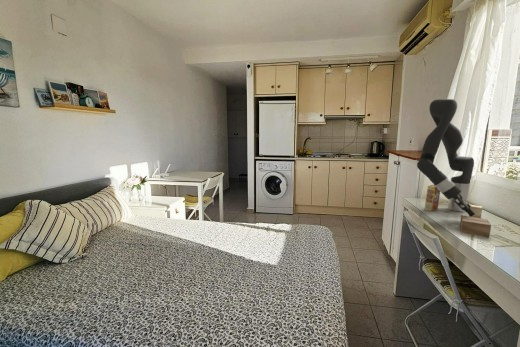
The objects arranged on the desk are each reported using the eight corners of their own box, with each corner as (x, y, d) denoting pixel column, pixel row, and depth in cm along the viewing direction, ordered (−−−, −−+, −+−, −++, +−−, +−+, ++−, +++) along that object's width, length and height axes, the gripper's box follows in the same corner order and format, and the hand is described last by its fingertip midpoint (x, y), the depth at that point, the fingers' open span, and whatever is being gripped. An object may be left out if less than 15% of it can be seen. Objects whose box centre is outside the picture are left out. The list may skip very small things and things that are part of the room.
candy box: (432, 211, 151) (434, 186, 149) (424, 209, 155) (427, 185, 152) (438, 209, 156) (441, 185, 154) (430, 207, 159) (433, 184, 157)
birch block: (467, 223, 131) (470, 204, 130) (479, 225, 128) (481, 206, 127) (467, 225, 128) (470, 206, 126) (479, 227, 125) (482, 208, 124)
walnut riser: (459, 226, 127) (461, 215, 126) (485, 231, 121) (487, 219, 120) (461, 232, 119) (462, 220, 118) (489, 237, 113) (491, 225, 112)
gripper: (454, 186, 126) (480, 212, 120) (455, 182, 137) (480, 206, 131) (440, 194, 130) (465, 220, 124) (442, 190, 141) (465, 214, 135)
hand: (472, 213), depth 128 cm, fingers open, 8 cm apart
